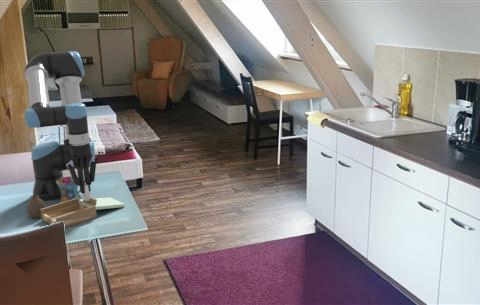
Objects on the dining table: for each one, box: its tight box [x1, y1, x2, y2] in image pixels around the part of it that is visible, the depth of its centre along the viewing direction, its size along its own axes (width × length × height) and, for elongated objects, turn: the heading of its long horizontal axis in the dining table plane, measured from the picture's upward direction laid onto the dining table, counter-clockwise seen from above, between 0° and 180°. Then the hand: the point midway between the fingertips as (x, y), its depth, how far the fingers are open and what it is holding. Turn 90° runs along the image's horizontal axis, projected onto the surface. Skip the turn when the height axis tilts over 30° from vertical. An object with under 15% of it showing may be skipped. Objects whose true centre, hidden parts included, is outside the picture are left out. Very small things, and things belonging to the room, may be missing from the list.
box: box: [40, 198, 98, 229], centre depth 188 cm, size 14×16×5 cm
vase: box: [26, 195, 47, 220], centre depth 190 cm, size 7×7×9 cm
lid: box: [78, 195, 126, 211], centre depth 198 cm, size 12×15×4 cm
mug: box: [56, 176, 85, 203], centre depth 204 cm, size 12×9×11 cm
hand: (86, 199), depth 192 cm, fingers closed
